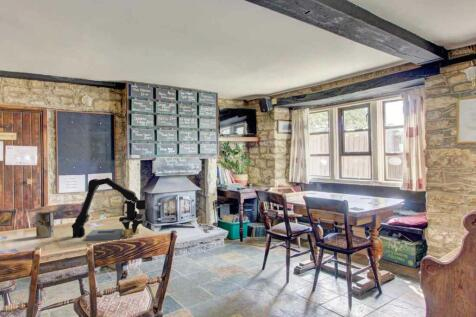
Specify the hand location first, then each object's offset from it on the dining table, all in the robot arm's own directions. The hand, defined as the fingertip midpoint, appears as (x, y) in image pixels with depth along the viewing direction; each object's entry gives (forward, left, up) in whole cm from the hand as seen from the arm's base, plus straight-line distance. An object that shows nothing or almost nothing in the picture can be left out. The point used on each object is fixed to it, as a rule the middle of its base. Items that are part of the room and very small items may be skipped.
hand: (131, 232), depth 219 cm
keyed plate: (-16, -2, -1) cm, 16 cm away
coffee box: (-56, +7, -2) cm, 56 cm away
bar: (0, 0, -2) cm, 2 cm away
